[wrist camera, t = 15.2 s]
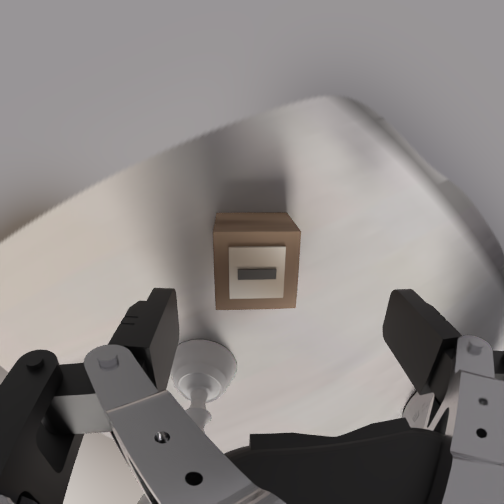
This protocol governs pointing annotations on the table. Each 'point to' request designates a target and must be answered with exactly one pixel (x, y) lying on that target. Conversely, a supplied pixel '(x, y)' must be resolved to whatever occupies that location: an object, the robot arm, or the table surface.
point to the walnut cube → (255, 260)
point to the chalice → (201, 377)
